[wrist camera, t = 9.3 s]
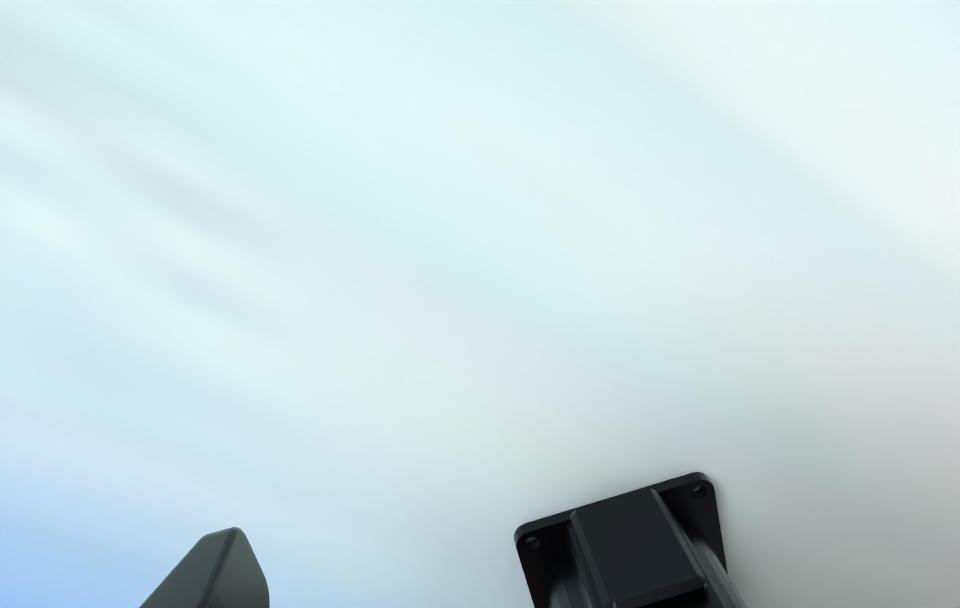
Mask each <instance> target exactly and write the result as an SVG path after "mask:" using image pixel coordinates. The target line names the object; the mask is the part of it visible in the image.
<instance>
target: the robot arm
mask: <svg viewBox="0 0 960 608" xmlns="http://www.w3.org/2000/svg"><path fill="white" fill-rule="evenodd" d="M698 486H701V487H700V488H699V490H697V491H695V492H692V491H693V489H694V488H696V487H698ZM532 537H535V540H533V541H530V542H526V540H527V539H528V538H532ZM514 541H515V545H516V549H517V552H518V555H519V558H520V562H521V565H522V568H523V571H524V574H525V578H526V581H527V584H528V587H529V591H530V594H531V597H532V600H533V604H534V607H535V608H747V607H746V605H745V603H744V602H743V600H742V598H741V597H740V595H739V593H738V592H737V590H736V588H735V587H734V585H733V583H732V582H731V580H730V578H729V577H728V574H727V568H726V562H725V555H724V549H723V542H722V536H721V530H720V523H719V517H718V511H717V504H716V498H715V491H714V487H713V485H712V483H711V482H710V480H709V479H708V477H707V476H706V475H705V474H703V473H699V472H695V473H690V474H687V475H684V476H680V477H677V478H674V479H670V480H667V481H664V482H661V483H657V484H654V485H651V486H647V487H644V488H641V489H638V490H634V491H631V492H628V493H624V494H621V495H618V496H614V497H611V498H608V499H605V500H601V501H598V502H595V503H591V504H588V505H585V506H582V507H578V508H575V509H572V510H568V511H565V512H562V513H559V514H555V515H552V516H549V517H545V518H542V519H539V520H536V521H532V522H529V523H526V524H524V525H522V526H520V527H519V528H518V529H517V530H516V531H515V534H514ZM139 608H269V591H268V585H267V582H266V578H265V576H264V574H263V572H262V569H261V567H260V565H259V563H258V561H257V559H256V556H255V554H254V552H253V550H252V548H251V546H250V544H249V541H248V539H247V537H246V535H245V534H244V532H243V531H242V530H241V529H239V528H237V527H232V528H228V529H225V530H221V531H218V532H214V533H210V534H207V535H205V536H203V537H202V538H201V539H200V540H199V541H198V542H197V543H196V545H195V546H194V547H193V548H192V549H191V550H190V551H189V552H188V553H187V555H186V556H185V557H184V558H183V559H182V560H181V561H180V562H179V564H178V565H177V566H176V567H175V568H174V569H173V570H172V571H171V573H170V574H169V575H168V576H167V577H166V578H165V579H164V580H163V582H162V583H161V584H160V585H159V586H158V587H157V588H156V589H155V591H154V592H153V593H152V594H151V595H150V596H149V597H148V598H147V600H146V601H145V602H144V603H143V604H142V605H141V606H140V607H139Z"/></svg>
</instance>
